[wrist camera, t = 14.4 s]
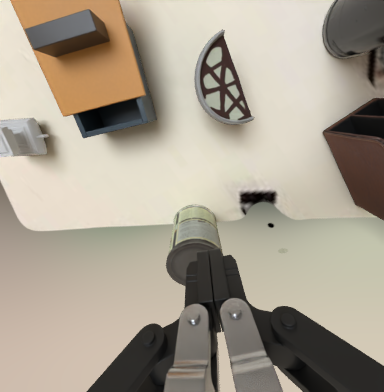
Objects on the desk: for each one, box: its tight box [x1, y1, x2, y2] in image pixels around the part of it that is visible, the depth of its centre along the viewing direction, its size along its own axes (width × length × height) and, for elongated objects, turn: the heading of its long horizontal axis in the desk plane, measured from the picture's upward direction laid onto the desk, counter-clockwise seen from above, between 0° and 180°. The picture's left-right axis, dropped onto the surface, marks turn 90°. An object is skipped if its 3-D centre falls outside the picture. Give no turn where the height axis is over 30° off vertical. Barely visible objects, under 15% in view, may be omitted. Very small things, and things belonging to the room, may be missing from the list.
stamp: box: [0, 118, 49, 157], centre depth 36 cm, size 9×7×8 cm
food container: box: [195, 30, 254, 125], centre depth 32 cm, size 12×6×10 cm, turn 26°
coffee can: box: [166, 205, 223, 286], centre depth 41 cm, size 10×10×14 cm
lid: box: [10, 0, 146, 116], centre depth 25 cm, size 16×13×5 cm
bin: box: [73, 23, 157, 138], centre depth 32 cm, size 14×11×8 cm
